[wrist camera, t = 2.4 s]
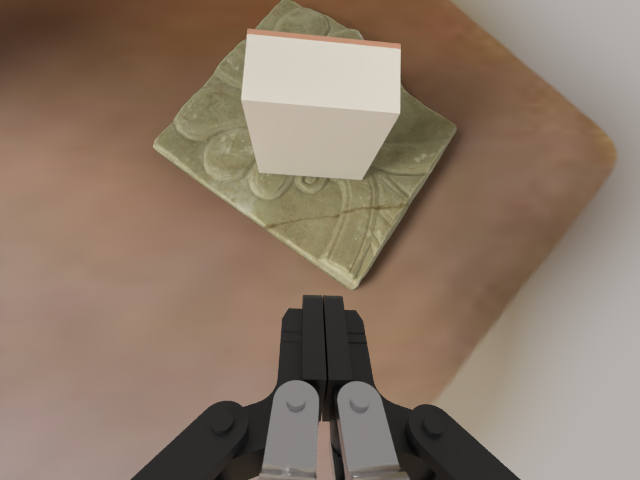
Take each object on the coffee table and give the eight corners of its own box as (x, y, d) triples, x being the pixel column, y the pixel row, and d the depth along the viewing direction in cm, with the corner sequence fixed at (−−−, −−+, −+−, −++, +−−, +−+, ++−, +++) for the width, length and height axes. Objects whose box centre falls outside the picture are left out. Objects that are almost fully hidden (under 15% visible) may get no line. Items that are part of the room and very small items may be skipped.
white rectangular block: (259, 172, 27) (240, 100, 17) (262, 124, 28) (247, 28, 18) (361, 180, 28) (400, 113, 18) (362, 132, 29) (400, 43, 19)
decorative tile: (350, 294, 30) (358, 293, 26) (159, 158, 30) (142, 139, 27) (461, 130, 33) (481, 110, 30) (287, 12, 34) (287, -22, 31)
